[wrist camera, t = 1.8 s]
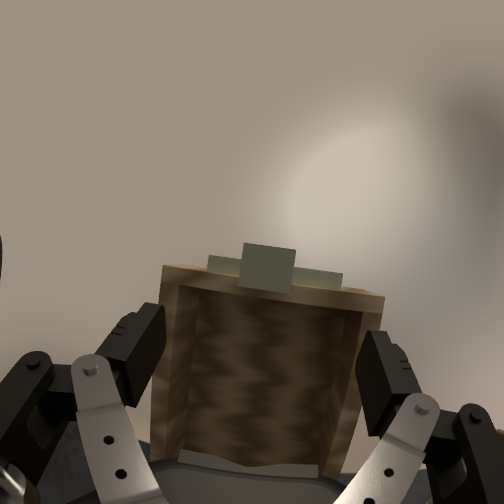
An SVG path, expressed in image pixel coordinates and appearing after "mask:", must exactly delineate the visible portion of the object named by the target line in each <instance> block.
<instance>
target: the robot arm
mask: <svg viewBox="0 0 504 504" xmlns="http://www.w3.org/2000/svg"><path fill="white" fill-rule="evenodd" d="M1 268H2V241H1V236H0V278H1ZM166 341H167V334H166V319H165V308H164V306H163V305H159V304H153V303H148V302H146V303H144V304H143V305H142V307H141V308H140V310H139V311H138V312H137V313H135V312H131V313H129V314H128V315H126V316H124V317H123V318H121V320H120V321H119V322H118V323H117V325H116V327H114V329H113V330H112V331H111V333H110V334H109V335H108V336H107V338H106V339H105V340H104V342H103V343H102V344H101V346H100V347H99V348H98V350H97V351H96V352H95V354H89V355H84V356H81V357H79V358H78V359H76V360H75V361H74V363H73V364H72V365H59V364H53V363H52V361H51V358H50V356H49V355H48V354H47V353H44V352H42V351H33V352H29V353H27V354H25V355H24V356H22V357H21V358H20V359H19V361H18V362H17V363H16V364H15V365H14V367H13V368H12V369H11V370H10V372H9V373H8V374H7V375H6V377H5V378H4V379H3V380H2V382H1V383H0V504H40V501H41V499H40V494H39V492H38V490H37V488H36V487H37V484H38V482H39V480H40V478H41V476H42V474H43V472H44V470H45V468H46V466H47V464H48V462H49V460H50V458H51V456H52V454H53V452H54V450H55V448H56V446H57V444H58V442H59V440H60V438H61V436H62V434H63V432H64V431H65V429H66V427H67V425H68V423H69V421H77V422H78V426H79V430H80V435H81V439H82V443H83V447H84V450H85V454H86V458H87V461H88V465H89V468H90V472H91V475H92V478H93V481H94V484H95V487H96V490H94V491H92V492H90V493H88V494H86V495H84V496H82V497H80V498H78V499H75V500H73V501H71V502H69V503H67V504H400V503H401V501H402V500H403V498H404V496H405V494H406V493H407V491H408V489H409V487H410V485H411V483H412V482H413V480H414V478H415V476H416V474H417V472H418V470H419V468H420V466H421V464H422V463H423V464H426V468H427V473H428V478H429V483H430V488H431V493H432V498H433V504H504V449H503V447H502V444H501V442H500V439H499V437H498V435H497V432H496V430H495V428H494V425H493V423H492V421H491V419H490V416H489V414H488V413H487V412H486V410H485V409H484V408H482V407H481V406H479V405H477V404H472V403H469V404H465V405H464V406H462V408H461V409H460V411H459V412H458V413H456V412H450V411H445V410H441V409H440V407H439V405H438V403H437V402H436V401H435V400H434V399H433V398H432V397H430V396H429V395H426V394H423V393H422V391H421V388H420V386H419V384H418V381H417V379H416V377H415V374H414V372H413V370H412V368H411V365H410V363H408V358H407V356H406V354H405V352H404V351H403V350H402V349H401V348H400V347H399V346H398V345H397V344H392V343H391V340H390V338H389V336H388V334H387V332H386V331H375V330H368V331H367V332H366V334H365V337H364V340H363V343H362V346H361V349H360V351H359V354H358V357H357V360H356V365H355V375H356V380H357V384H358V388H359V393H360V397H361V402H362V406H363V411H364V415H365V420H366V425H367V430H368V435H369V437H370V436H379V437H380V442H379V444H378V445H377V446H376V448H375V449H374V451H373V452H372V454H371V455H370V457H369V458H368V459H367V461H366V462H365V464H364V465H363V466H362V468H361V469H360V471H359V472H358V473H357V475H356V476H355V477H354V479H353V480H352V481H351V482H350V484H349V485H348V486H347V487H346V486H345V485H343V484H342V483H340V482H338V481H337V480H335V479H332V478H330V477H327V476H324V475H321V474H318V465H305V464H285V463H284V464H277V465H269V466H260V467H245V466H242V465H239V464H236V463H234V462H231V461H228V460H225V459H223V458H220V457H217V456H215V455H210V454H204V453H199V452H194V451H189V450H184V449H181V451H180V454H179V457H172V458H164V459H158V460H155V461H151V462H149V463H147V461H146V459H145V456H144V454H143V452H142V450H141V447H140V445H139V443H138V440H137V438H136V435H135V433H134V431H133V428H132V425H131V423H130V421H129V418H128V415H127V413H126V410H125V406H126V405H127V406H130V407H134V408H136V407H137V405H138V403H139V400H140V398H141V396H142V394H143V392H144V390H145V388H146V386H147V384H148V382H149V380H150V378H151V376H152V374H153V372H154V370H155V368H156V366H157V364H158V362H159V360H160V358H161V356H162V354H163V352H164V350H165V347H166ZM35 406H36V407H35ZM34 407H35V408H34ZM33 409H34V410H33ZM32 410H33V411H32ZM31 412H32V413H31ZM30 413H31V414H30ZM29 415H30V416H29ZM28 417H29V418H28ZM462 458H463V459H464V462H465V465H466V469H467V476H466V473H465V470H464V466H463V463H462Z"/></svg>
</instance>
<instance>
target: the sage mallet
mask: <svg viewBox="0 0 504 504" xmlns="http://www.w3.org/2000/svg"><path fill="white" fill-rule="evenodd" d="M295 254H296V250H294V249H286V248H279V247H272V246H263V245H256V244H249V243H244V246H243V253H242V259H235V258H228V257H220V256H213V255H209V258H208V265H207V272H213V273H220V274H226V275H233V276H239V281H238V286H241V287H247V288H254V289H260V290H267V291H274V292H281V293H288V294H290V290H291V284H295V285H302V286H309V287H316V288H324V289H332V290H339V291H340V290H341V284H342V277H343V274H342V273H335V272H327V271H320V270H314V269H306V268H298V267H294V262H295Z"/></svg>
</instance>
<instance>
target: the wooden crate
mask: <svg viewBox="0 0 504 504" xmlns="http://www.w3.org/2000/svg"><path fill="white" fill-rule="evenodd" d="M238 281H239V276H233V275H226V274H220V273H213V272H207V267H200V266H194V265H163V268H162V277H161V284H160V293H159V302H158V304H159V305H163V306H164V308H165V319H166V334H167V341H166V347H165V350H164V352H163V354H162V356H161V358H160V360H159V362H158V364H157V366H156V368H155V370H154V372H153V374H152V393H151V422H150V424H151V425H150V462H151V461H155V460H158V459H164V458H172V457H179V454H180V451H181V449H184V450H189V451H194V452H199V453H204V454H210V455H215V456H217V457H220V458H223V459H225V460H228V461H231V462H234V463H236V464H239V465H242V466H245V467H260V466H269V465H277V464H284V463H285V464H305V465H318V474H321V475H324V476H327V477H330V478H332V479H335V480H338V478H339V475H340V472H341V469H342V467H343V464H344V461H345V458H346V455H347V452H348V449H349V446H350V443H351V440H352V437H353V434H354V430H355V427H356V424H357V421H358V417H359V414H360V410H361V406H362V402H361V397H360V393H359V388H358V384H357V380H356V375H355V365H356V360H357V357H358V354H359V351H360V349H361V346H362V343H363V340H364V337H365V334H366V332H367V331H368V330H375V331H379V329H380V324H381V319H382V313H383V307H384V301H385V297H384V296H381V295H378V294H375V293H372V292H369V291H366V290H363V289H355V288H348V287H341V290H340V291H339V290H332V289H324V288H316V287H309V286H302V285H295V284H291V290H290V294H288V293H281V292H274V291H267V290H260V289H254V288H247V287H241V286H238Z"/></svg>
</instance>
